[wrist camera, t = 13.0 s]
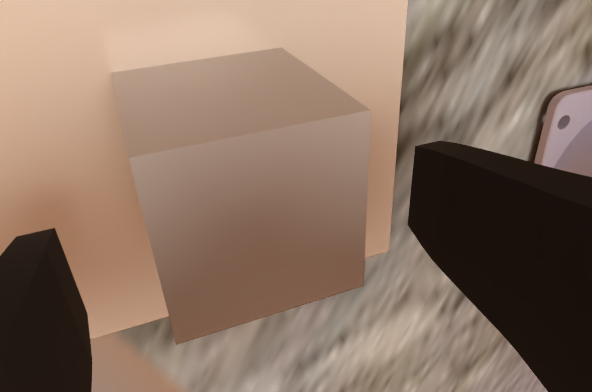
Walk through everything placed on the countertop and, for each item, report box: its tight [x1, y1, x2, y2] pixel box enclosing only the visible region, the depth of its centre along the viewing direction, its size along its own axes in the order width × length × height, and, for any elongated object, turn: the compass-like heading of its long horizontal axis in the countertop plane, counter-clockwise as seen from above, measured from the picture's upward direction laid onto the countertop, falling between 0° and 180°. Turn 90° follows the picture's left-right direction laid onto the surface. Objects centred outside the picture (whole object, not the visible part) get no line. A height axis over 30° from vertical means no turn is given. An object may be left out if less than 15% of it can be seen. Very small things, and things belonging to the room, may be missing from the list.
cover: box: [0, 0, 408, 345], centre depth 11 cm, size 11×11×6 cm
